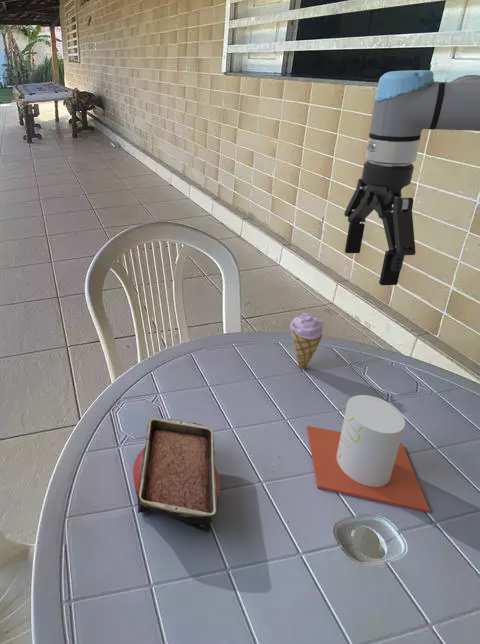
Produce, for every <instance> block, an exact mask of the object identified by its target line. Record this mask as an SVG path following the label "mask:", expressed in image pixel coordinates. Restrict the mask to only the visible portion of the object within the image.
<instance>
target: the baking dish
mask: <svg viewBox="0 0 480 644" xmlns="http://www.w3.org/2000/svg"><path fill="white" fill-rule="evenodd" d="M145 435H146V437H145V444H144V448H142V450H140V452H139V453H138V454H137V456H136V458H135V460H134V463H133V468H132V477H133V483H134V488H135V493H136V498H137V514H140V513H144V512H147V511H153V512H154V513H155V512H156V513H158V514H160V515H163V516H165V517H168V518H170V519H172V520H175V521H177V522H180V523H182V524H185V525H187V526H190V527H192V528H195V529H197V530H200V531H203V532H205V533H211V530H210V528H211V523H212V518H213V516H215V515H216V514H217V512H218V510H219V508H218V505H219V498H220V492H221V480H220V476H219V473H218V470H217V469H216V461H215V459H216V457H215V456H216V452H215V451H216V450H215V435H214V431H213V430H212V429H211V428H210V427H207V426H206V425H203V424H199V423H196V422H189V421H184V420H179V419H172V418H158V417H157V418H156V417H154V418H150V419H149V420H148V421H147V426H146V434H145Z"/></svg>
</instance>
